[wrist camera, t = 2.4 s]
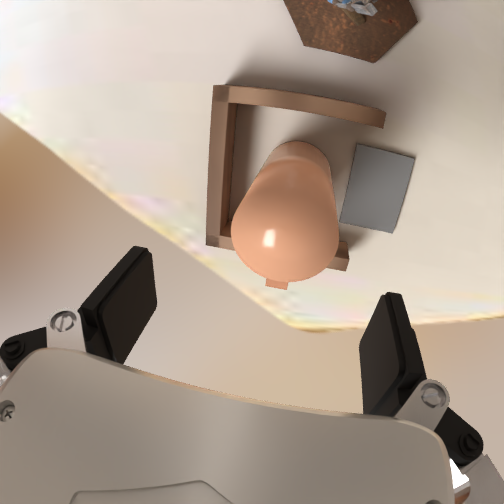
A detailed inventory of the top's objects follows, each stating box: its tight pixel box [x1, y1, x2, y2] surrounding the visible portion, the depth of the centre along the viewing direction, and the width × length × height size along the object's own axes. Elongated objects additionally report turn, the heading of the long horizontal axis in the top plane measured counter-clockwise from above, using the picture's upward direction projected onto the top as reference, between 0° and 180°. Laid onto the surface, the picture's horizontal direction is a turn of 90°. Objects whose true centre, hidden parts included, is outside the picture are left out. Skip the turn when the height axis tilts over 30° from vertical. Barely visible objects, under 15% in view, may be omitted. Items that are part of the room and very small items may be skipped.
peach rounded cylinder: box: [231, 141, 339, 290], centre depth 21 cm, size 6×8×11 cm
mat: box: [340, 144, 414, 233], centre depth 24 cm, size 5×7×1 cm
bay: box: [206, 85, 386, 271], centre depth 23 cm, size 12×13×3 cm
